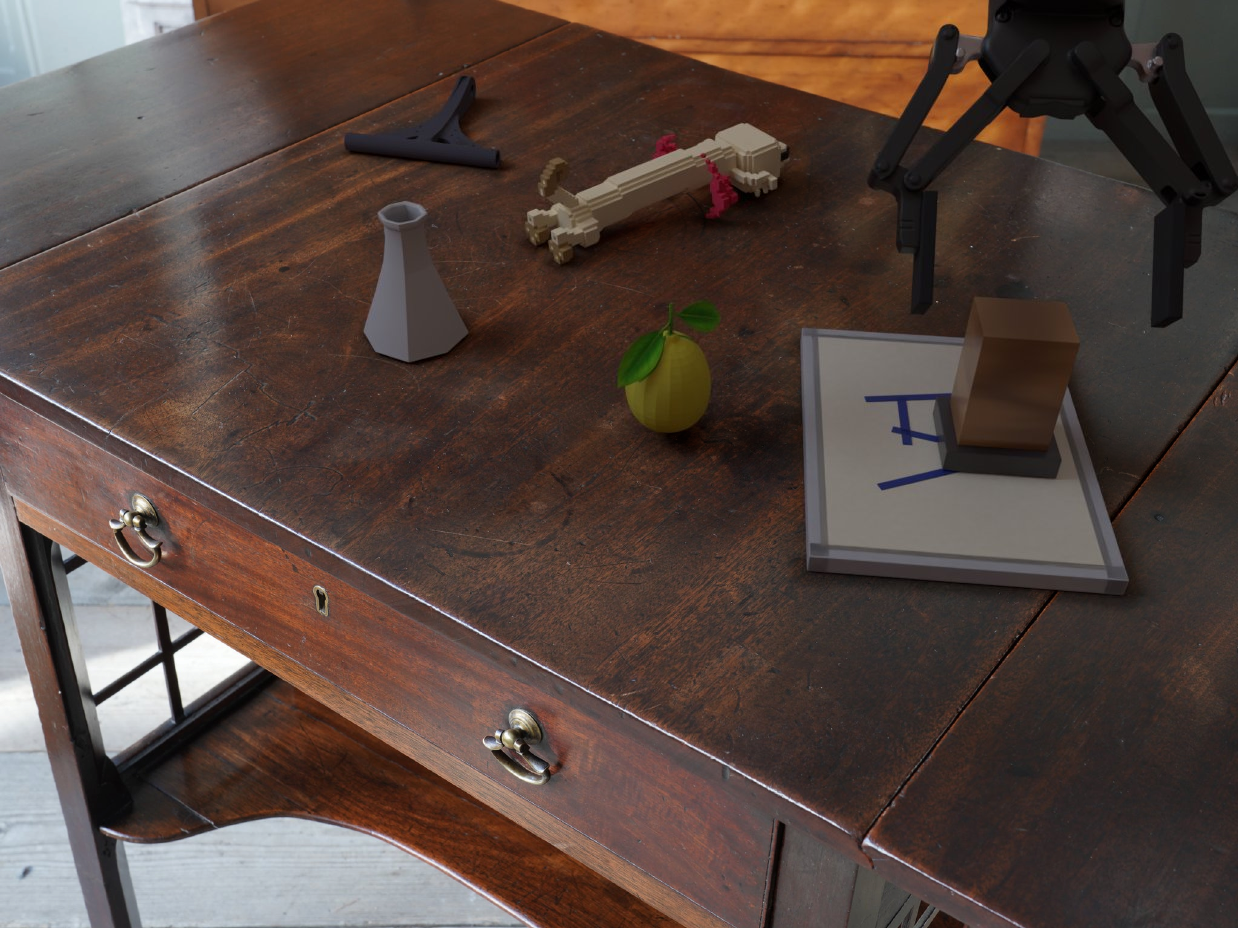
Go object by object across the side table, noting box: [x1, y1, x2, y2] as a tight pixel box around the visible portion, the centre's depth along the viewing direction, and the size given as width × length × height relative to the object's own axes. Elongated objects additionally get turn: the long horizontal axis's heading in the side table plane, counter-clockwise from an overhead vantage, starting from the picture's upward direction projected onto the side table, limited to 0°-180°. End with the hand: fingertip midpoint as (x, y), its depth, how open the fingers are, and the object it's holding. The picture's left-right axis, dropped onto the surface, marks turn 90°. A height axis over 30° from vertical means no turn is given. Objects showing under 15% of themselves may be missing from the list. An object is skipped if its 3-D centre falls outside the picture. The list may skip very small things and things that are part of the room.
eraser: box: [933, 296, 1081, 478], centre depth 75 cm, size 7×6×10 cm
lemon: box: [616, 299, 722, 434], centre depth 78 cm, size 7×6×10 cm
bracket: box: [343, 75, 501, 169], centre depth 116 cm, size 14×15×3 cm
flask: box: [363, 200, 469, 363], centre depth 86 cm, size 7×7×10 cm
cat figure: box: [524, 122, 790, 265], centre depth 101 cm, size 10×9×25 cm
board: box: [799, 327, 1130, 596], centre depth 79 cm, size 18×24×1 cm
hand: (1042, 316), depth 69 cm, fingers open, 13 cm apart
